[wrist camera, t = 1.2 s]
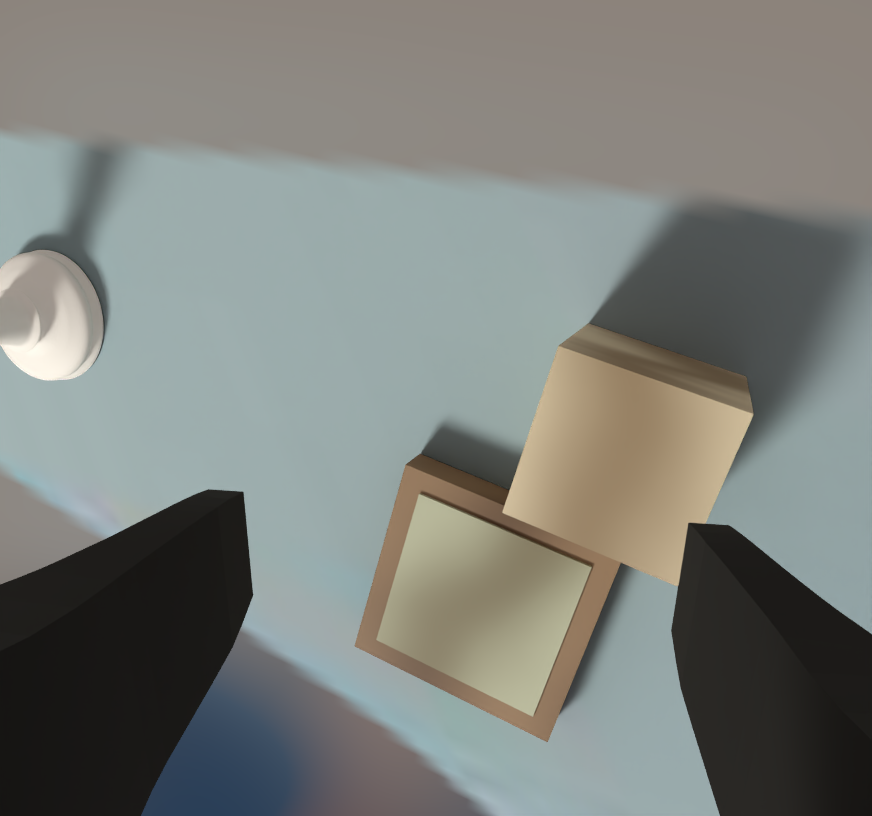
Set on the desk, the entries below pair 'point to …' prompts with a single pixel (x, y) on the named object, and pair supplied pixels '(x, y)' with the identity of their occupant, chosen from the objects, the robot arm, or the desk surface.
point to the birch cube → (629, 448)
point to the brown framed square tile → (482, 598)
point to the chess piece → (49, 315)
